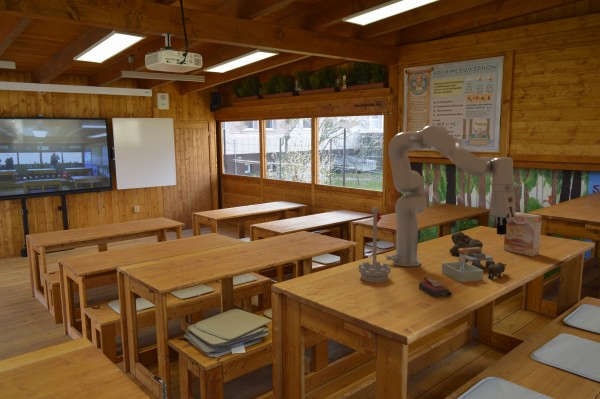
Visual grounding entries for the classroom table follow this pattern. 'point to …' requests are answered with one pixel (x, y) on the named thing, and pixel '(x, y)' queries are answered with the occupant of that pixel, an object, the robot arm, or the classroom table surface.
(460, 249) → the pin
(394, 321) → the classroom table surface
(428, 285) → the walkie-talkie
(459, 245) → the decorative stone
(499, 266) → the rhino figurine
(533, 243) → the coffeecake box
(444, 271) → the tray
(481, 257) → the trolley
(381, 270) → the flag stand
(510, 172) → the robot arm
